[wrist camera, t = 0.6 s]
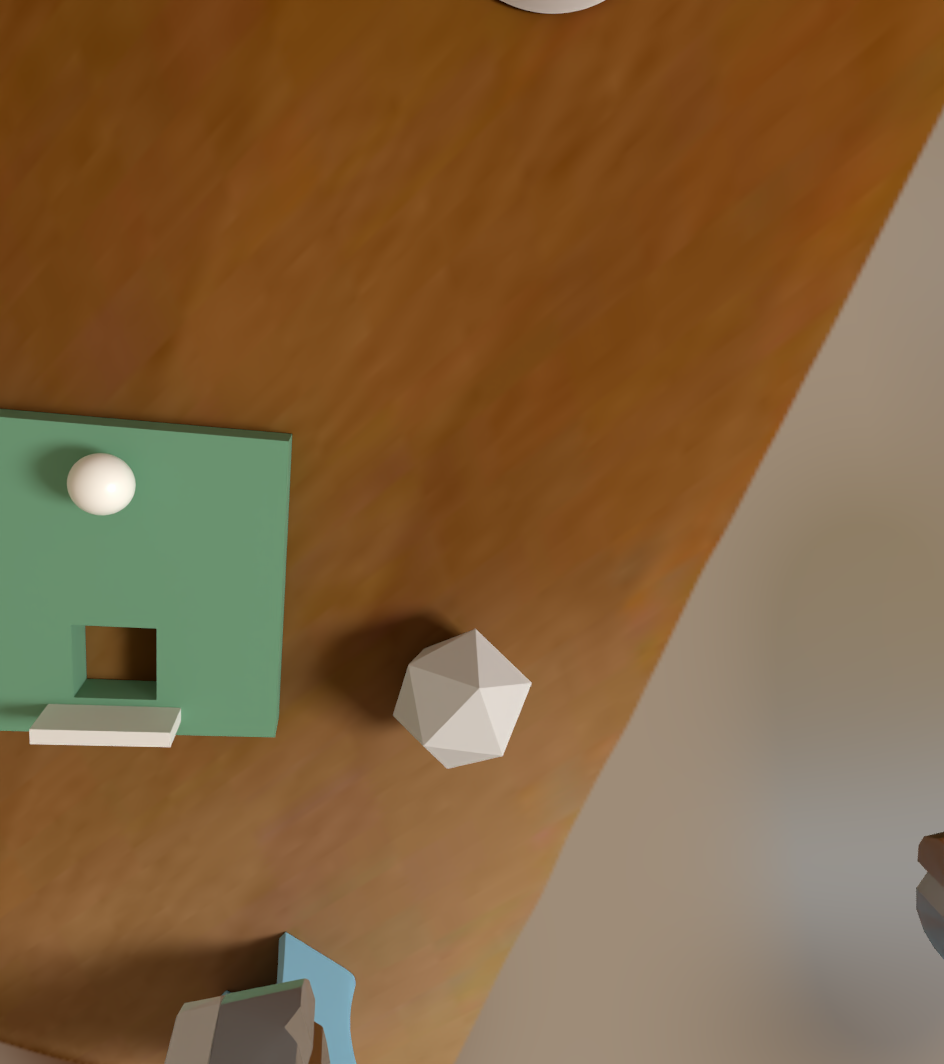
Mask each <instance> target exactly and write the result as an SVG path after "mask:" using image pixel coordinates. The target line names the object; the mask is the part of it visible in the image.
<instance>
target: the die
mask: <svg viewBox="0 0 944 1064" xmlns="http://www.w3.org/2000/svg"><path fill="white" fill-rule="evenodd" d="M530 686H531V682H530V681H529V680H528V679H527V678H526V677H525V676H524V675H523V674H522V673H521V672H520V671H519V670H518V669H517V668H516V667H515V666H514V665H513V664H512V663H511V662H509V661H508V660H507V659H506V658H505V657H504V656H503V655H502V654H501V653H500V652H499V651H498V650H497V649H496V648H495V647H494V646H493V645H492V644H491V643H490V642H489V641H488V640H487V639H486V638H484V637H483V636H482V635H481V634H480V633H479V632H478V631H477V630H476V629H474V630H471V631H469V632H466V633H463V634H461V635H458V636H456V637H453V638H450V639H448V640H445V641H442V642H440V643H437V644H435V645H432V646H429V647H427V648H424V649H423V650H422V651H421V652H420V653H419V654H418V655H417V656H416V657H415V658H414V659H413V660H412V661H411V663H410V664H409V665H408V668H407V671H406V674H405V677H404V681H403V684H402V687H401V690H400V694H399V697H398V700H397V703H396V706H395V710H394V713H393V716H394V717H395V718H396V719H397V720H398V721H399V722H400V723H401V724H402V725H403V726H404V727H405V728H406V729H407V730H408V731H409V732H410V733H411V734H412V735H413V736H414V737H415V738H416V739H417V740H418V741H419V742H420V743H421V744H422V745H423V746H424V747H425V748H426V749H427V750H428V751H429V752H430V753H431V754H432V755H433V756H434V757H435V758H437V759H438V760H439V761H440V762H441V763H442V764H443V765H444V766H445V767H446V768H447V769H449V768H453V767H457V766H462V765H466V764H470V763H475V762H479V761H483V760H488V759H492V758H496V757H501V756H503V754H504V751H505V749H506V746H507V744H508V741H509V739H510V736H511V734H512V731H513V729H514V726H515V724H516V721H517V719H518V716H519V714H520V711H521V709H522V706H523V704H524V701H525V698H526V696H527V693H528V691H529V688H530Z"/></svg>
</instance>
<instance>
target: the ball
mask: <svg viewBox="0 0 944 1064" xmlns="http://www.w3.org/2000/svg"><path fill="white" fill-rule="evenodd" d="M135 488H136V482H135V477H134V474H133V472H132V470H131V469H130V467H129V466H128V465H127V464H126V463H125V462H124V461H123V460H121V459H120V458H118V457H116V456H114V455H110V454H106V453H95V454H90V455H87V456H85V457H83V458H81V459H80V460H78V461H77V462H76V463H75V464H74V465H73V467H72V468H71V470H70V472H69V474H68V477H67V489H68V493H69V496H70V497H71V499H72V501H73V502H74V503H75V504H76V505H77V506H78V507H79V508H80V509H82V510H83V511H85V512H88V513H90V514H94V515H110V514H114V513H117V512H119V511H120V510H122V509H123V508H125V507H126V506H127V505H128V504H129V503H130V501H131V500H132V498H133V496H134V493H135Z"/></svg>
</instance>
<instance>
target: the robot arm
mask: <svg viewBox="0 0 944 1064" xmlns="http://www.w3.org/2000/svg"><path fill="white" fill-rule="evenodd" d="M501 1H503V2H505V3H507V4H509V5H512V6H514V7H517V8H520V9H523V10H527V11H532V12H538V13H549V14H557V13H568V12H574V11H579V10H582V9H586V8H589V7H591V6H594V5H596V4H599V3H601V2H603V1H605V0H501ZM918 862H919V863H920V864H921V865H922V866H923V867H924V868H925V869H926V870H927V871H928V872H927V874H926V875H925V877H924V878H923V879H922V881H921V882H920V884H919V885H918V887H917V888H916V908H917V912H918V915H919V918H920V921H921V924H922V927H923V929H924V932H925V933H926V935H927V937H928V938H929V940H930V942H931V943H932V945H933V947H934V948H935V949H936V951H937V952H938V953H939V954H940V955H941V957H942V958H943V959H944V832H940V833H936V834H932V835H928V836H924V838H923V839H922V841H921V842H920V844H919V848H918ZM314 1016H315V997H314V994H313V991H312V988H311V984H310V981H309V980H308V979H306V978H304V979H299V980H294V981H289V982H284V983H279V984H274V985H269V986H264V987H259V988H254V989H249V990H244V991H239V992H234V993H229V994H226V995H223V996H218V997H213V998H208V999H203V1000H198V1001H193V1002H188V1003H184V1005H183V1006H182V1008H181V1010H180V1011H179V1013H178V1015H177V1016H176V1020H175V1024H174V1028H173V1032H172V1036H171V1040H170V1044H169V1048H168V1052H167V1056H166V1060H165V1064H330V1058H329V1052H328V1046H327V1041H326V1037H325V1033H324V1029H323V1027H322V1026H321V1025H319V1024H318V1023H316V1022H315V1021H314Z"/></svg>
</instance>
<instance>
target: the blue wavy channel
mask: <svg viewBox="0 0 944 1064" xmlns="http://www.w3.org/2000/svg"><path fill="white" fill-rule="evenodd" d="M304 978H306V979H308V980H309V981H310V984H311V988H312V991H313V994H314V997H315V1016H314V1021H315V1022H316V1023H318V1024H319V1025H321V1026H322V1027H323V1029H324V1033H325V1037H326V1041H327V1046H328V1052H329V1058H330V1064H356V1061H355V1057H354V1052H353V1047H352V1041H351V1034H350V1012H351V1003H352V998H353V993H354V989H355V984H356V982H355V977H354V976H353V974H352V973H350V972H349V971H348V970H346V969H345V968H343V967H342V966H340V965H339V964H337V963H335V962H334V961H332V960H331V959H329V958H327V957H326V956H324V955H322V954H321V953H319V952H318V951H316V950H314V949H313V948H311V947H309V946H308V945H306V944H305V943H303V942H301V941H300V940H298V939H296V938H295V937H293V936H292V935H290V934H288V933H287V932H285V933H284V934H283V935H282V936H281V937H280V938H279V954H278V973H277V984H279V983H284V982H289V981H294V980H299V979H304ZM229 993H231V992H229V991H227V990H226V991H225V992H224V993H223V994H222V995H221V996H223V995H226V994H229Z"/></svg>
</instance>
